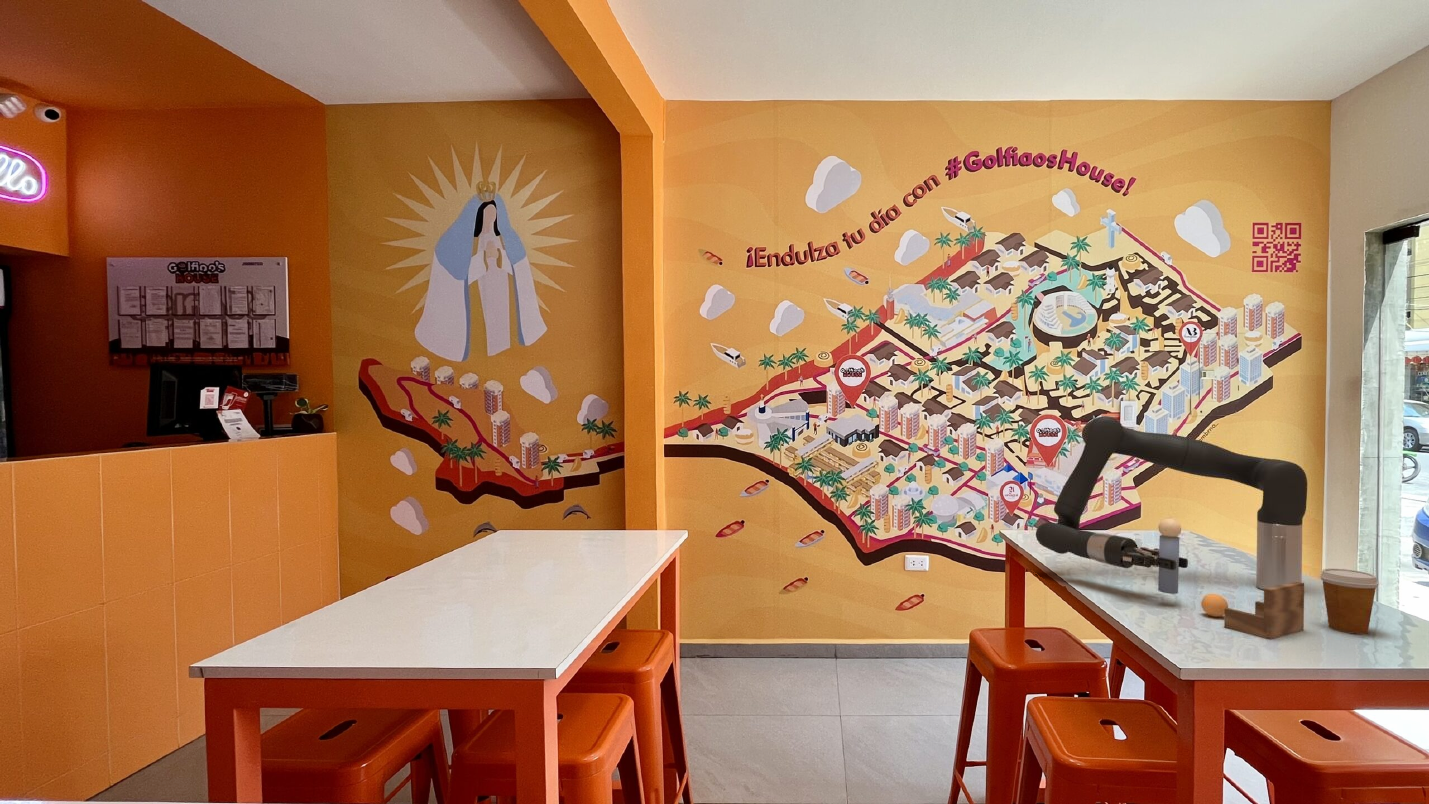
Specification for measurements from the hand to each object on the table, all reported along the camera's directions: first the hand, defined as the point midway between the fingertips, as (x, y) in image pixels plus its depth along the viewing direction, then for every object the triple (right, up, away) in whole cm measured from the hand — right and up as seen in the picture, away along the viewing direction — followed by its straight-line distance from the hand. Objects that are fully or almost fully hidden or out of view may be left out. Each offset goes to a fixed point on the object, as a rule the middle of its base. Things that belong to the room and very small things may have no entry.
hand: (1180, 564), depth 170 cm
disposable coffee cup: (+26, -11, -15) cm, 32 cm away
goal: (+8, -10, -15) cm, 20 cm away
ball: (+3, -8, -6) cm, 11 cm away
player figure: (-1, -7, +3) cm, 8 cm away
